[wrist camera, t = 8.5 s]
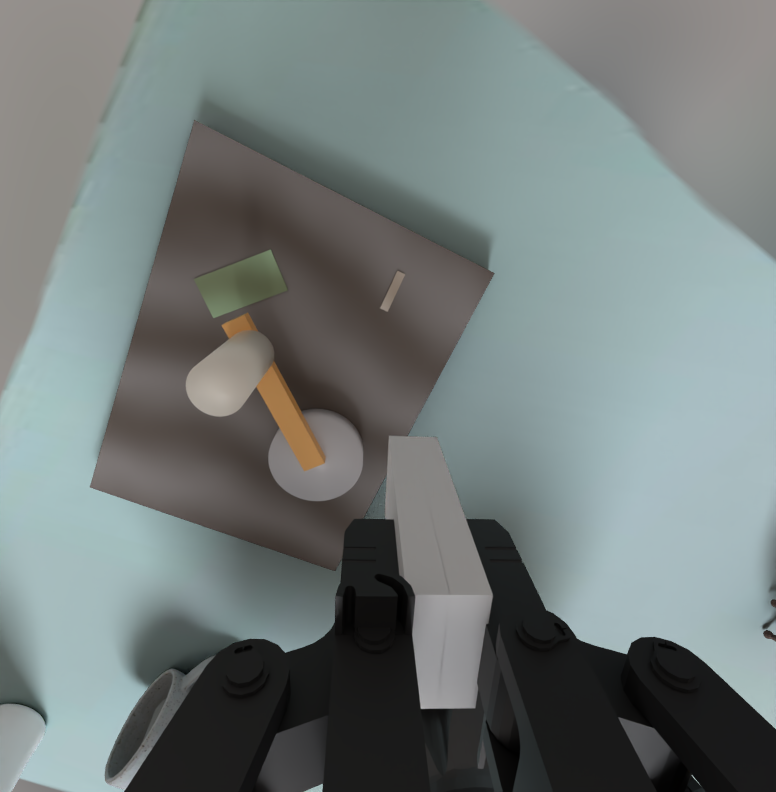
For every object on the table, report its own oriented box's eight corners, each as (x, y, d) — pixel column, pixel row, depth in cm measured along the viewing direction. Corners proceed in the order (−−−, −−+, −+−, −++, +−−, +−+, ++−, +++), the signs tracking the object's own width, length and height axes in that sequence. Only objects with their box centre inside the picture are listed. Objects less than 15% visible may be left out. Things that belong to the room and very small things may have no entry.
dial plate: (336, 557, 35) (334, 572, 34) (102, 475, 32) (89, 488, 30) (488, 270, 28) (494, 273, 26) (204, 126, 24) (193, 119, 23)
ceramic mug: (210, 737, 42) (179, 842, 35) (134, 698, 40) (83, 801, 32) (283, 674, 40) (265, 772, 32) (206, 628, 37) (168, 723, 30)
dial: (377, 469, 31) (379, 552, 23) (298, 500, 31) (274, 591, 23) (289, 292, 26) (255, 319, 18) (199, 332, 27) (130, 375, 19)
